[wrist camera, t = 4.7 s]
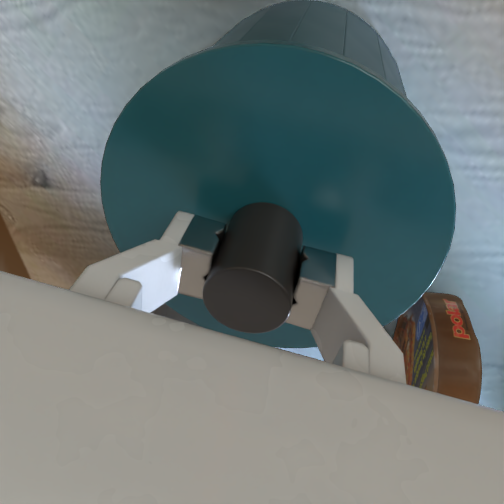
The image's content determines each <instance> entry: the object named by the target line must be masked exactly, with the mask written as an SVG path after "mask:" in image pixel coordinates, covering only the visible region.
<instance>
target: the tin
mask: <svg viewBox="0 0 504 504" xmlns="http://www.w3.org/2000/svg"><path fill="white" fill-rule="evenodd" d="M393 341H394V342H395V344H396V345H397V346H398V348H399V349H400V350H401V352H402V353H403V357H404V366H405V375H406V384H407V385H411V386H414V387H418V388H422V389H425V390H429V391H432V392H436V393H439V394H443V395H447V396H450V397H454V398H457V399H461V400H464V401H468V402H472V403H475V404H479V399H480V393H481V382H482V363H481V353H480V347H479V343H478V339H477V337H476V335H475V333H474V330H473V327H472V324H471V321H470V318H469V316H468V313H467V311H466V309H465V307H464V305H463V302H462V300H461V299H460V298H459V297H457V296H455V295H451V294H444V293H431V292H425V293H424V294H423V295H422V297H421V298H420V299H419V300H418V301H417V302H416V303H415V304H413V305H412V306H411V307H410V308H409V309H408V310H407V311H406V312H404V313H403V314H402V315H400V316H399V318H398V322H397V326H396V330H395V333H394V337H393Z"/></svg>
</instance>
